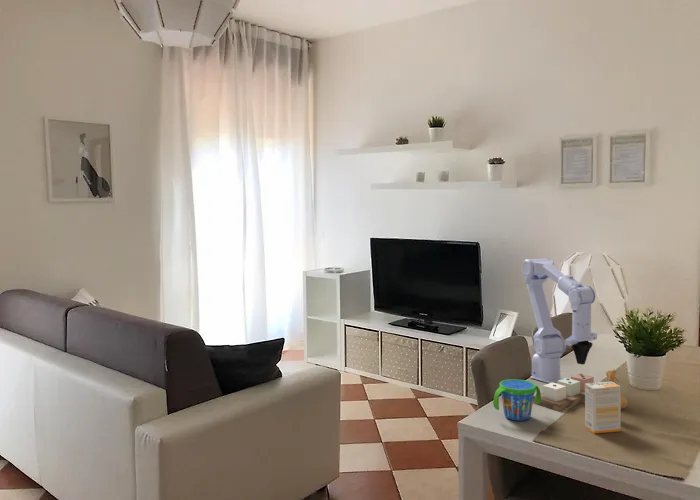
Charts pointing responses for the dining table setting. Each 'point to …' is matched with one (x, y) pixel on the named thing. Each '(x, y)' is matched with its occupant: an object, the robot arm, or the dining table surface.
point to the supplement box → (602, 407)
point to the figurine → (612, 379)
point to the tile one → (554, 391)
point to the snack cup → (517, 398)
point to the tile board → (562, 401)
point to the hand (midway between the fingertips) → (581, 363)
